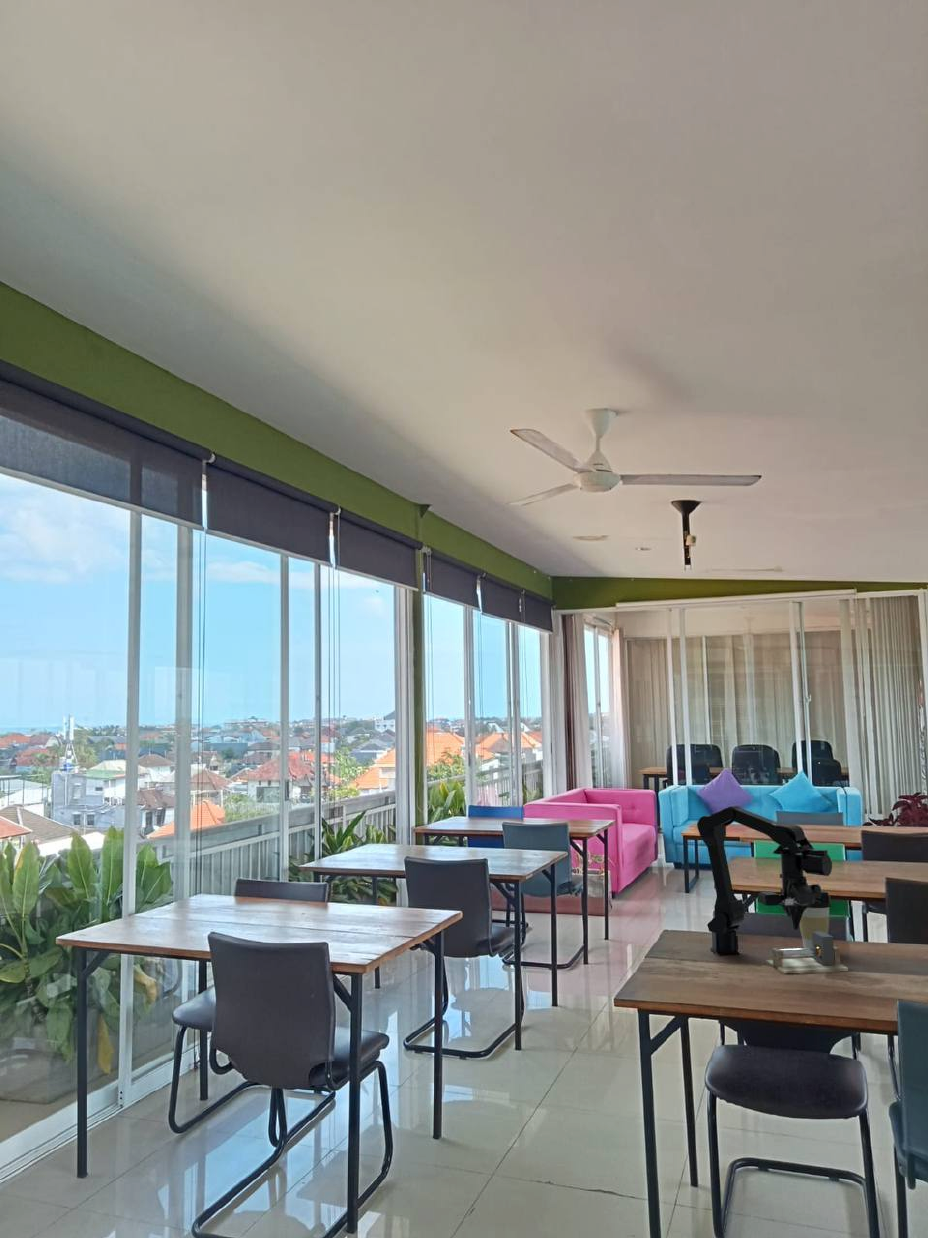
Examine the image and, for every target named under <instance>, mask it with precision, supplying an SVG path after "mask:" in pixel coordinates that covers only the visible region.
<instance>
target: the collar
mask: <svg viewBox="0 0 928 1238" xmlns="http://www.w3.org/2000/svg"><path fill="white" fill-rule="evenodd" d="M812 945H813V948H816V947H821V956H817V955H815V956H812V958H813V959H814V960H816V961H818V962H820V963H822V964H823V965H832V964H834V946H835V945H834V936H833V935H831V934H829V933H828V934H827V933H824V932H822V931H818V932H812Z"/></svg>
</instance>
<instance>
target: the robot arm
mask: <svg viewBox="0 0 928 1238" xmlns="http://www.w3.org/2000/svg"><path fill="white" fill-rule="evenodd" d="M734 822H735V823H737V824H740V825H741V826H745V827H746V828H749V829H752V830H754V831H756V832H759V833H761V834H764V835H766V836H767V837H769V838H770V839H771V840H772V841H773V842H775V843H776V844H777V845H778V846H777V847H776V849H775V850H773V851H772V853H773V854H774V855H779V856H780V860H781V861H780V862H781V863H780V864H781V873H779V878H780V879H781V886H782V888H780V890H779V891H780V893H781V894H780V893H776V892H774V891H772V890H771V891H770V890H769V891H759V892H758V894H757V902H758V903H759V904H762V905H764V906H768V907H770V906H771V907H773V906H780V907H782V909H783V910H784V912H785V914H786V916H787V918H788V920H789V924H790V925H791V927H792V929H793V930H795V931H797V930H798V929H799V928H800V924H799V923H800V920H801V917H802V915H803V912H804V910H805V909H806V908H808V907H810V906H811V905H810V904H814V900H817V901H818V902H819V903H821V904H822V903H830V904H831V896H830V894H829V892H827V891H825V890H822V888H821V886H820V884H817V883H816V884H815V883H814V884H808V882H807V876H805V875H804V873H806V874H807V875H808V874H809V875H817V876H823V877H829V876H830V875H831V874H832V870H833V861H832V860H831V857H830V855H829V854H828V850H827V849H814V846H813V845H812V843H811V842H810V841H809V839H808V838H807V837H806V835H805V832H804V829H803V828H802V827H801V826H800V825H797V824H793V823H788V822H779V821H775V820H772V819H769V818H768V817H767V818H766V817H764V816H762V815H759V814H757V813H755V812H751V811H750V810H746V809H744V808H742V807H740V806H739V805H736V804H735V805H732V806H731V805H730V806H726V807H725V808H723V809H721V810H720V811H717V812H715V813H712V814H710V815H704V816H701V817H699V819H698V821H697V822H696V823H697V824H696V828H697V831H698V834H699V836H700V839H701V840H702V841H703V843H704V844H705V846H706V848H707V853H708V857H709V862H710V867H711V872H712V873H711V874H712V878H713V883H714V888H715V893H716V899H715V903H714V906H713V908H714V917H713V918H712V919H711V920H710V921H709V922H708V923H707V925H706V926H707V929H708V931H709V932H710V933H711V943H712V944H711V945H712V947H710V951H712V952H713V953H715V954H716V955H718V956H727V955H739V954H740V951H739V937H738V935H737V931H736V930H739V929H740V925H741V924H742V923H743V921H744V918H745V914H746V911H745V909H744V901H743V899H742V898H740V899H738V898H737V897H736V895H735V893H734V890H733V885H732V881H731V880H732V879H731V874H730V870H729V864H728V860H727V854H726V849H725V840H726V837H727V827H728V826H730V825H732V824H733V823H734Z"/></svg>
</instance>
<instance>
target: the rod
mask: <svg viewBox="0 0 928 1238" xmlns="http://www.w3.org/2000/svg"><path fill="white" fill-rule="evenodd" d="M780 950H781V951H782V958H788V957H789V958H790V957H791V958H792V957H809V956H810V957H811V956H812V957H813V956H815V955H817V956H821V947H816V948H804V947H802V948H781V949H780ZM773 951H774V952H775V955H774V954H773V955H774V957H776V955H777V954H776V951H775V950H773ZM773 955H772V956H773Z"/></svg>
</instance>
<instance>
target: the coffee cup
mask: <svg viewBox="0 0 928 1238" xmlns="http://www.w3.org/2000/svg"><path fill="white" fill-rule="evenodd" d="M810 905H811V906H810V907H808V908H806V909H805V910H804V912H803V915H802V917H801V920H800V923H799V929H800V936H801V938H802V939H801V940H802V944H803V948H813V945H812V932H818V931H822V932H824V933H827V934H829V924H830V907H832V905H831V902H830V903H822V904H821V903H819V902H818V901H817V900H814V904H810Z"/></svg>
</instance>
